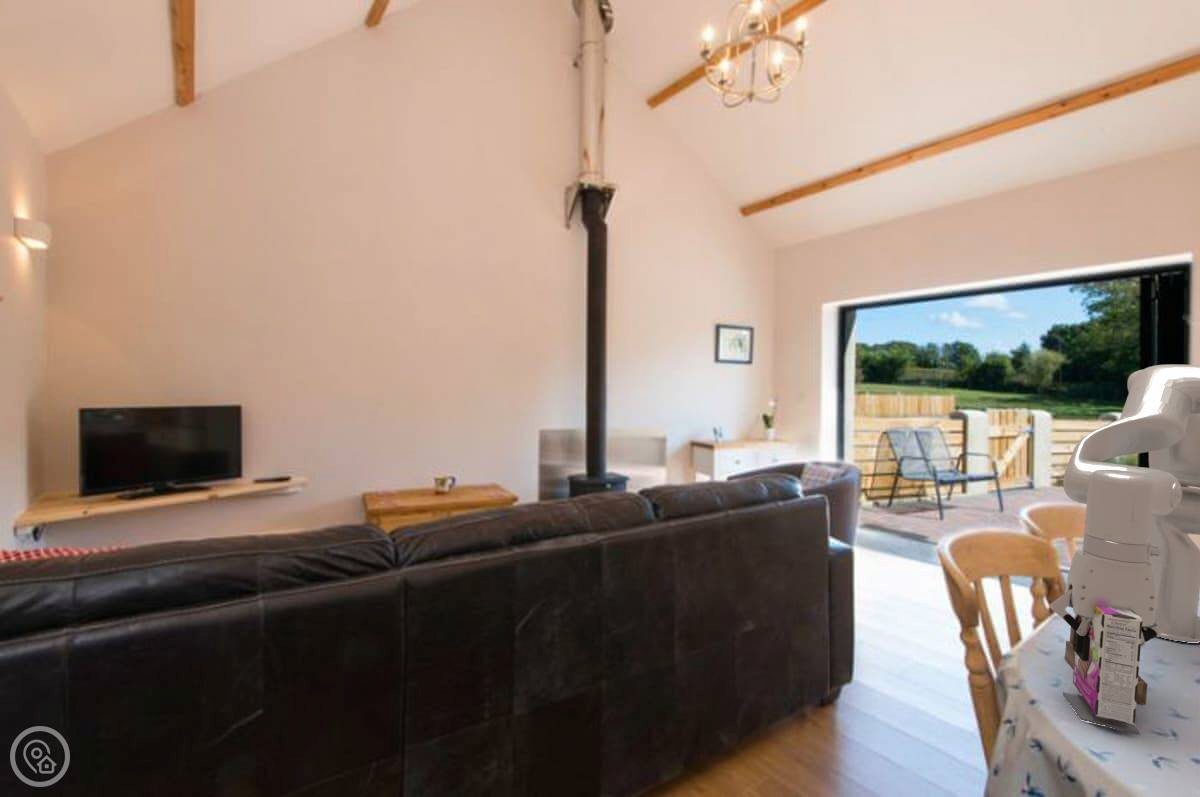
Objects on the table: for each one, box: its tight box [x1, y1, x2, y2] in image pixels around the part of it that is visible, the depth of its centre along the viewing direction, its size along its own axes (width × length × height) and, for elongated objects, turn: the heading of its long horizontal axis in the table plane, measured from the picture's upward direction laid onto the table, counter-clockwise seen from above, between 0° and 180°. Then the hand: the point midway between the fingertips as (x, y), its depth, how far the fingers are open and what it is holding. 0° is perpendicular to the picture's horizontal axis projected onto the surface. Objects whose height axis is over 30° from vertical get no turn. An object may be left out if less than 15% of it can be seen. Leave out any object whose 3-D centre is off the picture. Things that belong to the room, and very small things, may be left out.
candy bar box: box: [1072, 606, 1143, 726], centre depth 89 cm, size 11×5×16 cm, turn 155°
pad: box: [1062, 691, 1141, 736], centre depth 90 cm, size 7×8×1 cm
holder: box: [1064, 626, 1148, 705], centre depth 100 cm, size 7×13×8 cm, turn 156°
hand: (1104, 660), depth 89 cm, fingers closed on candy bar box, 5 cm apart
